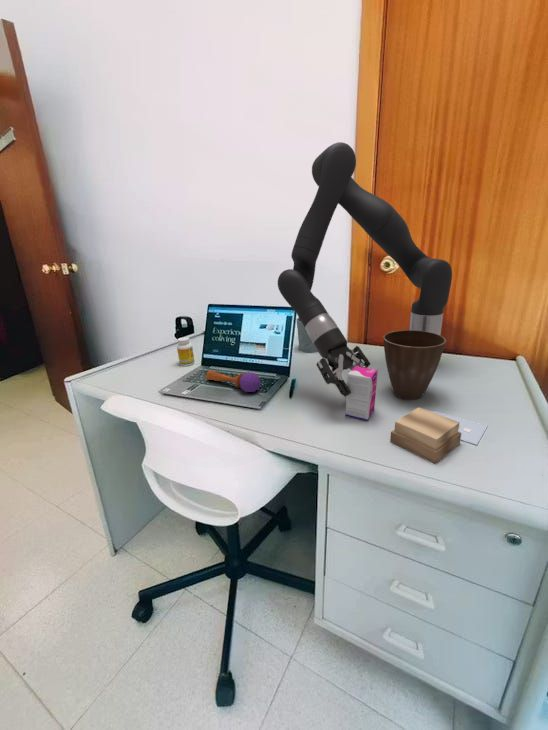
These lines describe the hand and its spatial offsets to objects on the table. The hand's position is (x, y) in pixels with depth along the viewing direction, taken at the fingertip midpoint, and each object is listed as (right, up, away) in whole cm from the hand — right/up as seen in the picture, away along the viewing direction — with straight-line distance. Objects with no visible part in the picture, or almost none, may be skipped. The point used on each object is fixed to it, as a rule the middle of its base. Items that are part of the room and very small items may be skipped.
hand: (359, 389), depth 84 cm
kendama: (-33, -1, +22) cm, 40 cm away
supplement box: (+1, -6, +2) cm, 7 cm away
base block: (+11, -11, -10) cm, 19 cm away
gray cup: (-7, +12, +50) cm, 52 cm away
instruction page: (+20, -8, -6) cm, 22 cm away
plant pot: (+16, -2, +11) cm, 19 cm away
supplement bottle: (-53, +6, +42) cm, 68 cm away
